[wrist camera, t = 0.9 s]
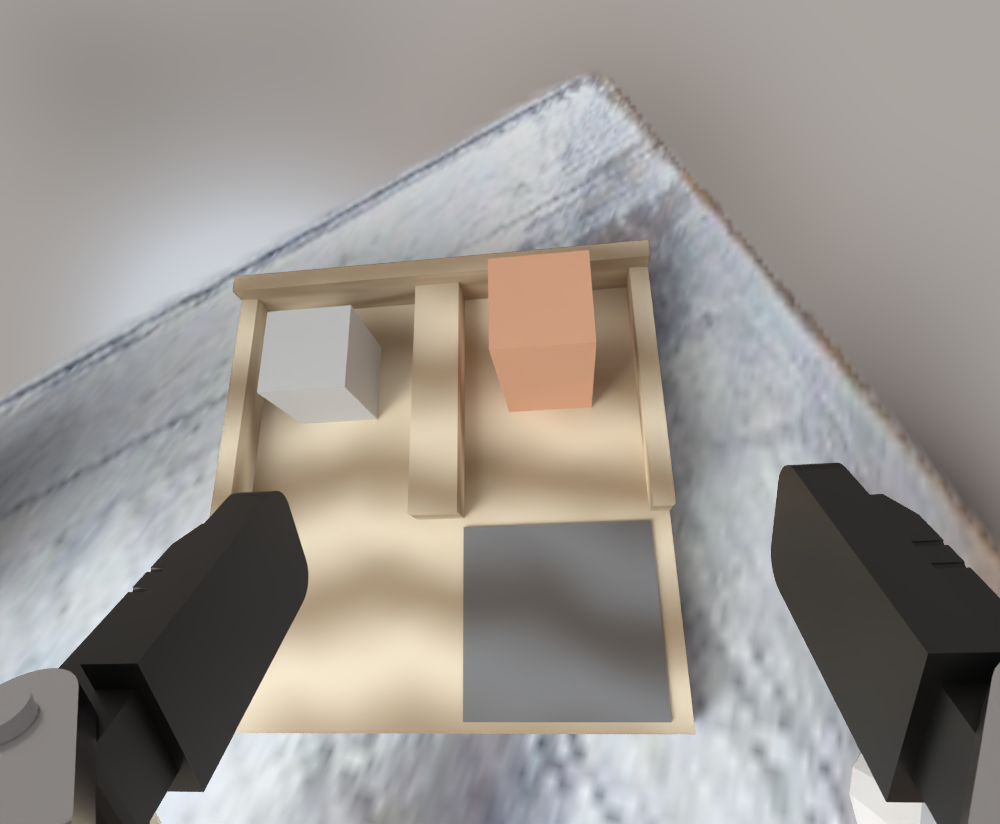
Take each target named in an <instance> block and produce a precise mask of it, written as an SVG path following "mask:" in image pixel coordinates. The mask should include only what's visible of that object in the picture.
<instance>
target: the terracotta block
mask: <svg viewBox="0 0 1000 824" xmlns="http://www.w3.org/2000/svg"><path fill="white" fill-rule="evenodd" d="M488 316H489V352H490V355H491V358H492V361H493V364H494V367H495V370H496V373H497V376H498V379H499V382H500V385H501V388H502V391H503V394H504V397H505V400H506V403H507V406H508V409H509V412H518V411H535V410H553V409H570V408H587V407H592V396H593V382H594V368H595V355H596V331H595V319H594V306H593V294H592V282H591V269H590V257H589V250H583V251H572V252H561V253H549V254H538V255H526V256H515V257H503V258H492V259H488Z"/></svg>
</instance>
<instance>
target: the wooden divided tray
mask: <svg viewBox="0 0 1000 824" xmlns="http://www.w3.org/2000/svg"><path fill="white" fill-rule="evenodd" d="M583 250H589V257H590V269H591V282H592V294H593V306H594V319H595V331H596V355H595V368H594V382H593V396H592V407H587V408H570V409H553V410H535V411H518V412H509V409H508V406H507V403H506V400H505V397H504V394H503V391H502V388H501V385H500V382H499V379H498V376H497V373H496V370H495V367H494V364H493V361H492V358H491V355H490V352H489V316H488V259H492V258H503V257H515V256H526V255H538V254H549V253H561V252H572V251H583ZM649 258H650V252H649V244H648V240H641V241H630V242H618V243H607V244H596V245H584V246H573V247H562V248H550V249H539V250H528V251H516V252H505V253H494V254H483V255H471V256H460V257H449V258H437V259H426V260H415V261H403V262H392V263H381V264H369V265H358V266H347V267H335V268H324V269H313V270H302V271H290V272H279V273H268V274H256V275H245V276H235V279H234V286H233V292H234V293H235V294H236V295H237V296H238V297H239V298H240V299H241V300H242V303H241V310H240V317H239V324H238V330H237V337H236V344H235V350H234V357H233V364H232V371H231V377H230V384H229V391H228V398H227V404H226V411H225V418H224V424H223V431H222V438H221V445H220V451H219V458H218V465H217V472H216V478H215V485H214V492H213V498H212V505H211V512H210V516H211V515H212V514H213V513H214V512H215V511H216V510H217V509H218V507H219V506H220V505H221V504H222V503H223V502H224V501H225V499H226V498H227V497H228V496H229V495H231V494H233V493H240V492H259V491H280V492H281V493H283V494H284V496H285V497H286V499H287V501H288V504H289V507H290V510H291V513H292V516H293V519H294V523H295V526H296V529H297V532H298V535H299V539H300V542H301V545H302V548H303V551H304V555H305V558H306V561H307V565H308V574H309V578H308V588H307V593H306V596H305V599H304V601H303V603H302V605H301V607H300V609H299V611H298V613H297V615H296V617H295V619H294V621H293V623H292V624H291V626H290V628H289V630H288V632H287V634H286V636H285V638H284V640H283V642H282V644H281V645H280V647H279V649H278V651H277V653H276V655H275V657H274V659H273V661H272V663H271V664H270V666H269V668H268V670H267V672H266V674H265V676H264V678H263V680H262V682H261V684H260V685H259V687H258V689H257V691H256V693H255V695H254V697H253V699H252V701H251V703H250V705H249V706H248V708H247V710H246V712H245V714H244V716H243V718H242V720H241V722H240V724H239V726H238V727H237V729H236V731H235V733H473V734H695V726H694V717H693V709H692V700H691V691H690V683H689V674H688V665H687V657H686V648H685V639H684V631H683V622H682V613H681V604H680V596H679V587H678V578H677V570H676V561H675V552H674V544H673V535H672V526H671V518H670V510H671V508H672V507H673V506H674V505H675V504H676V499H675V490H674V482H673V473H672V465H671V457H670V448H669V440H668V432H667V423H666V415H665V406H664V398H663V390H662V381H661V373H660V364H659V356H658V348H657V339H656V331H655V322H654V314H653V306H652V297H651V289H650V281H649V272H648V263H649ZM347 305H351V306H352V307H353V309H354V310H355V312H356V313H357V314H358V316H359V317H360V318H361V320H362V321H363V323H364V324H365V325H366V327H367V328H368V330H369V331H370V332H371V334H372V335H373V336H374V338H375V339H376V341H377V342H378V343H379V345H380V346H381V347H382V349H381V367H380V385H379V403H378V420H360V421H343V422H326V423H309V424H301V423H300V422H298V421H297V420H295V419H294V418H293V417H291V416H290V415H288V414H287V413H285V412H284V411H283V410H281V409H280V408H278V407H277V406H275V405H274V404H273V403H271V402H270V401H268V400H267V399H265V398H264V397H263V396H261V395H260V394H258V393H257V388H258V381H259V373H260V365H261V358H262V350H263V342H264V335H265V327H266V319H267V312H273V311H285V310H298V309H310V308H323V307H335V306H347Z"/></svg>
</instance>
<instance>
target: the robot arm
mask: <svg viewBox="0 0 1000 824" xmlns="http://www.w3.org/2000/svg"><path fill="white" fill-rule="evenodd" d="M771 561H772V568H773V573H774V577H775V581H776V584H777V586H778V589H779V591H780V593H781V595H782V597H783V599H784V601H785V603H786V605H787V607H788V609H789V611H790V613H791V615H792V617H793V619H794V621H795V623H796V625H797V627H798V629H799V630H800V632H801V634H802V636H803V638H804V640H805V642H806V644H807V646H808V648H809V650H810V652H811V654H812V656H813V658H814V660H815V662H816V664H817V666H818V668H819V670H820V672H821V674H822V676H823V678H824V680H825V682H826V684H827V686H828V688H829V690H830V692H831V694H832V696H833V698H834V700H835V702H836V704H837V706H838V708H839V710H840V712H841V714H842V716H843V718H844V720H845V722H846V724H847V726H848V728H849V730H850V731H851V733H852V735H853V737H854V739H855V741H856V743H857V745H858V747H859V749H860V751H861V753H862V755H863V757H864V759H865V761H866V763H867V765H868V767H869V769H870V771H871V773H872V775H873V777H874V779H875V781H876V783H877V785H878V787H879V789H880V791H881V793H882V795H883V797H884V799H885V801H886V802H900V803H925V804H926V806H927V807H928V809H929V811H930V813H931V814H932V816H933V818H934V820H935V822H936V823H937V824H1000V598H999V597H998V596H997V595H996V594H995V593H994V592H993V591H992V590H991V589H990V588H989V586H988V585H987V584H986V583H985V582H984V581H983V580H982V579H981V578H980V577H979V576H978V575H977V574H976V573H975V572H974V571H973V570H972V569H971V568H966V567H965V564H964V561H963V560H962V559H961V558H960V557H959V556H958V555H957V554H956V553H955V551H954V550H953V549H952V548H951V547H950V546H949V545H944V543H943V539H942V538H941V537H940V536H939V535H938V534H937V533H936V532H935V531H934V530H933V529H932V528H931V527H930V526H929V525H928V524H927V523H926V522H925V521H924V520H923V519H922V518H921V516H920V515H918V514H917V513H915V512H913V511H911V510H910V509H908V508H906V507H904V506H903V505H901V504H899V503H897V502H896V501H894V500H892V499H890V498H889V497H887V496H885V495H883V494H875V495H869V493H868V492H867V491H866V490H865V489H864V488H863V487H862V486H861V484H860V483H859V482H858V481H857V480H856V479H855V478H854V477H853V475H852V474H851V473H850V472H849V471H848V470H847V469H846V468H845V467H844V466H843V465H842V464H840V463H823V464H803V465H787V466H784V467H783V468H782V470H781V472H780V476H779V481H778V490H777V499H776V508H775V517H774V526H773V535H772V544H771ZM308 578H309V574H308V565H307V561H306V558H305V555H304V551H303V548H302V545H301V542H300V539H299V535H298V532H297V529H296V526H295V523H294V519H293V516H292V513H291V510H290V507H289V504H288V501H287V499H286V497H285V496H284V494H283V493H281V492H280V491H259V492H240V493H233V494H231V495H229V496H228V497H227V498H226V499H225V501H224V502H223V503H222V504H221V505H220V506H219V507H218V509H217V510H216V511H215V512H214V513H213V514H212V515H211V516H210V518H209V519H208V520H207V521H206V522H205V523H204V524H201V525H200V526H198V527H197V528H195V529H194V530H192V531H191V532H189V533H188V534H187V535H185V536H184V537H182V538H181V539H179V540H178V541H176V542H175V543H173V544H172V545H171V546H170V547H169V548H168V549H167V551H166V552H165V553H164V554H163V555H162V556H161V557H160V558H159V559H158V560H157V561H156V563H155V564H154V565H153V566H152V567H151V572H146V573H145V575H144V576H143V577H142V578H141V579H140V580H139V581H138V582H137V583H136V584H135V585H134V587H133V592H128V593H127V594H126V595H125V596H124V597H123V599H122V600H121V601H120V602H119V603H118V604H117V605H116V606H115V607H114V608H113V609H112V611H111V612H110V613H109V614H108V615H107V616H106V617H105V618H104V619H103V620H102V621H101V623H100V624H99V625H98V626H97V627H96V628H95V629H94V630H93V631H92V632H91V633H90V635H89V636H88V637H87V638H86V639H85V640H84V641H83V642H82V643H81V644H80V645H79V647H78V648H77V649H76V650H75V651H74V652H73V653H72V654H71V655H70V656H69V657H68V658H67V660H66V661H65V662H64V663H63V664H62V665H61V666H60V667H59V668H52V669H43V670H37V671H34V672H30V673H27V674H24V675H21V676H19V677H16V678H13V679H11V680H9V681H7V682H5V683H3V684H1V685H0V824H161V822H160V820H159V818H158V816H157V814H156V813H155V812H156V810H157V808H158V806H159V805H160V803H161V801H162V799H163V798H164V796H165V794H166V793H167V791H180V792H204V790H205V788H206V787H207V785H208V783H209V781H210V779H211V777H212V775H213V773H214V771H215V769H216V767H217V766H218V764H219V762H220V760H221V758H222V756H223V754H224V752H225V750H226V748H227V746H228V745H229V743H230V741H231V739H232V737H233V735H234V733H235V731H236V729H237V727H238V726H239V724H240V722H241V720H242V718H243V716H244V714H245V712H246V710H247V708H248V706H249V705H250V703H251V701H252V699H253V697H254V695H255V693H256V691H257V689H258V687H259V685H260V684H261V682H262V680H263V678H264V676H265V674H266V672H267V670H268V668H269V666H270V664H271V663H272V661H273V659H274V657H275V655H276V653H277V651H278V649H279V647H280V645H281V644H282V642H283V640H284V638H285V636H286V634H287V632H288V630H289V628H290V626H291V624H292V623H293V621H294V619H295V617H296V615H297V613H298V611H299V609H300V607H301V605H302V603H303V601H304V599H305V596H306V593H307V588H308Z"/></svg>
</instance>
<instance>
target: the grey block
mask: <svg viewBox="0 0 1000 824" xmlns="http://www.w3.org/2000/svg"><path fill="white" fill-rule="evenodd" d="M381 349H382V347H381V346H380V345H379V343H378V342H377V341H376V339H375V338H374V336H373V335H372V334H371V332H370V331H369V330H368V328H367V327H366V325H365V324H364V323H363V321H362V320H361V318H360V317H359V316H358V314H357V313H356V312H355V310H354V309H353V307H352V306H351V305H347V306H335V307H323V308H310V309H298V310H285V311H273V312H267V319H266V327H265V335H264V342H263V350H262V358H261V365H260V373H259V381H258V388H257V393H258V394H260V395H261V396H263V397H264V398H265V399H267V400H268V401H270V402H271V403H273V404H274V405H275V406H277V407H278V408H280V409H281V410H283V411H284V412H285V413H287V414H288V415H290V416H291V417H293V418H294V419H295V420H297V421H298V422H300V423H301V424H309V423H326V422H343V421H360V420H378V403H379V385H380V367H381Z"/></svg>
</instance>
